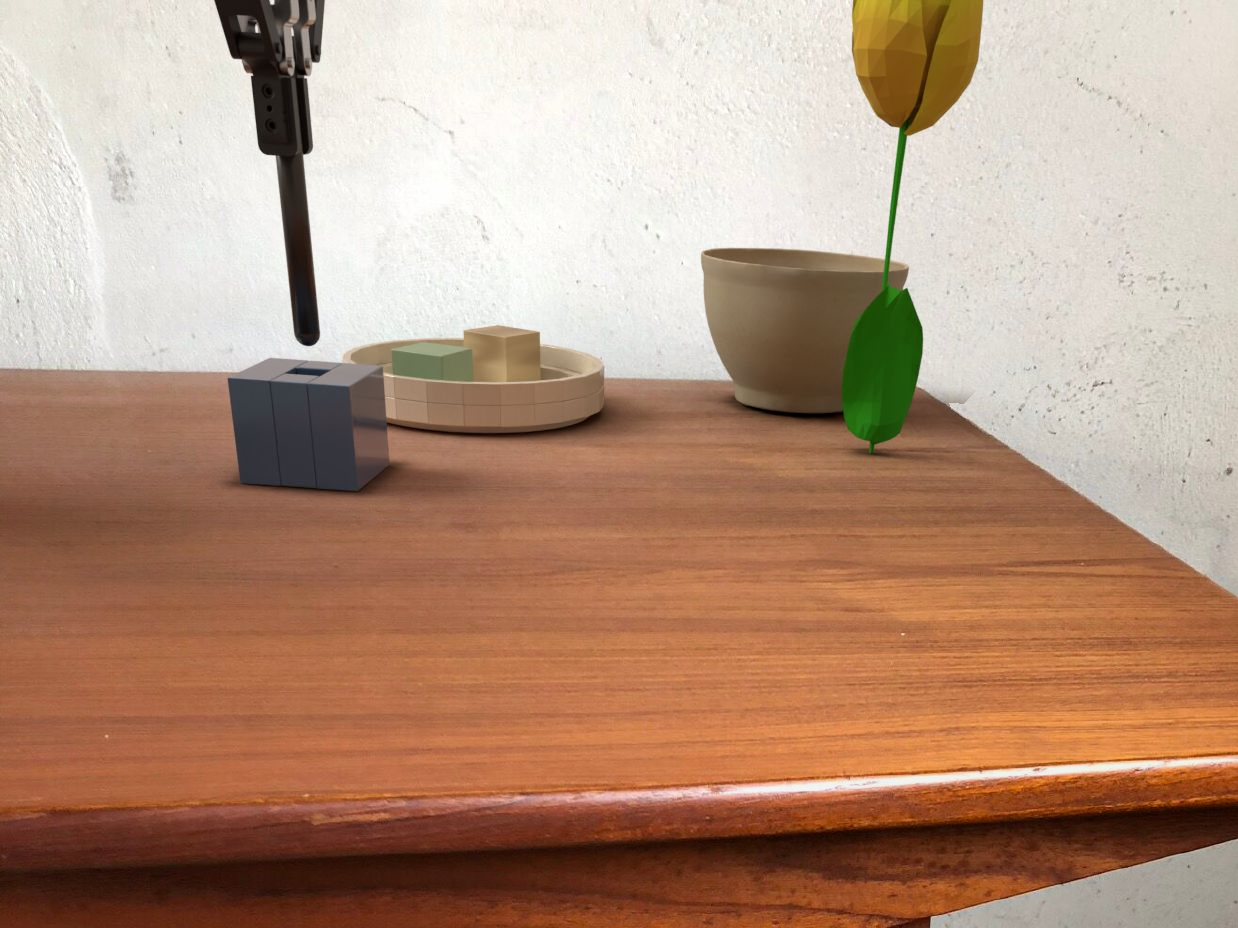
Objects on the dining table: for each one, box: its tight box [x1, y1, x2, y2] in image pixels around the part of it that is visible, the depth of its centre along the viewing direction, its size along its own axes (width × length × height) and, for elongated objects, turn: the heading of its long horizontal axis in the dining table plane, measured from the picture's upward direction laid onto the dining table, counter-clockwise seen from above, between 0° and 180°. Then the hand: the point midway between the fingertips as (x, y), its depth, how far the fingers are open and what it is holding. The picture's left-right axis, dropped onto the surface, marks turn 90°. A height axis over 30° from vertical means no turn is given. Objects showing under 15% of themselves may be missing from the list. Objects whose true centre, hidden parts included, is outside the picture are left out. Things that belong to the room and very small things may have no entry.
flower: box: [842, 0, 984, 454], centre depth 94 cm, size 9×8×30 cm
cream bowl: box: [341, 337, 605, 434], centre depth 107 cm, size 19×19×4 cm
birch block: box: [462, 324, 541, 382], centre depth 111 cm, size 4×4×4 cm
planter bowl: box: [700, 247, 910, 414], centre depth 112 cm, size 16×16×11 cm
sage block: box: [391, 342, 474, 382], centre depth 102 cm, size 4×4×4 cm
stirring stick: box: [275, 67, 321, 347], centre depth 80 cm, size 2×2×15 cm
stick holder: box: [227, 357, 391, 492], centre depth 87 cm, size 7×7×6 cm
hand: (286, 153), depth 79 cm, fingers closed on stirring stick, 1 cm apart
